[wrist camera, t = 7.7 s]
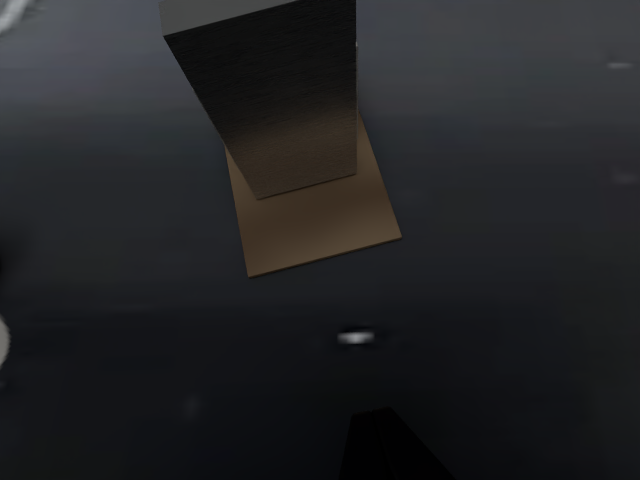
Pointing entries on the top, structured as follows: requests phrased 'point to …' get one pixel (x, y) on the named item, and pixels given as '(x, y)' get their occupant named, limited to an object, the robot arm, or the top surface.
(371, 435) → the robot arm
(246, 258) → the track bed
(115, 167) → the top surface
